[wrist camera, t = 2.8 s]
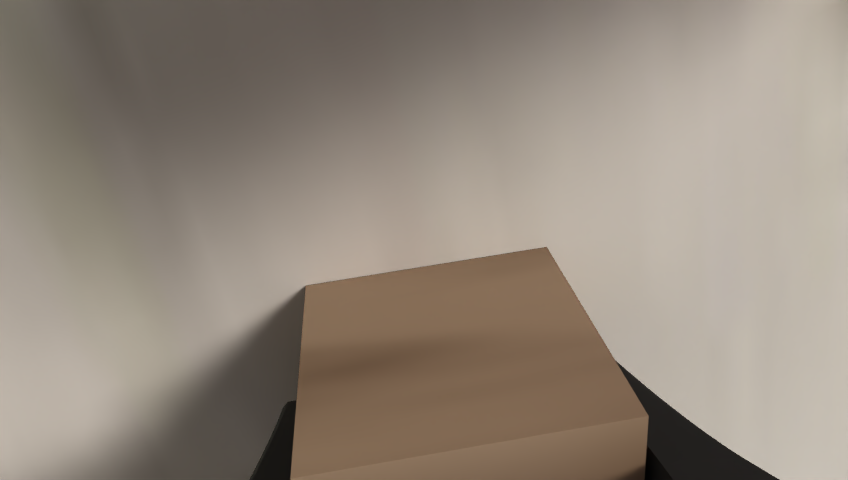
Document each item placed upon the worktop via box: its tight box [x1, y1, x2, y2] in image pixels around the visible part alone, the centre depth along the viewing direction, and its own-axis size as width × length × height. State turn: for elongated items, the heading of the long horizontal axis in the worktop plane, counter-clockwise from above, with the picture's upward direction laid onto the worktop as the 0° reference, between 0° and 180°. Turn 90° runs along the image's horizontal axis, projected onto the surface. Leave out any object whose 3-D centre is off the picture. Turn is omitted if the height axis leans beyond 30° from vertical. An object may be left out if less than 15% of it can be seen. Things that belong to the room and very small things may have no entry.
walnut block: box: [290, 247, 649, 480], centre depth 12 cm, size 5×5×5 cm
